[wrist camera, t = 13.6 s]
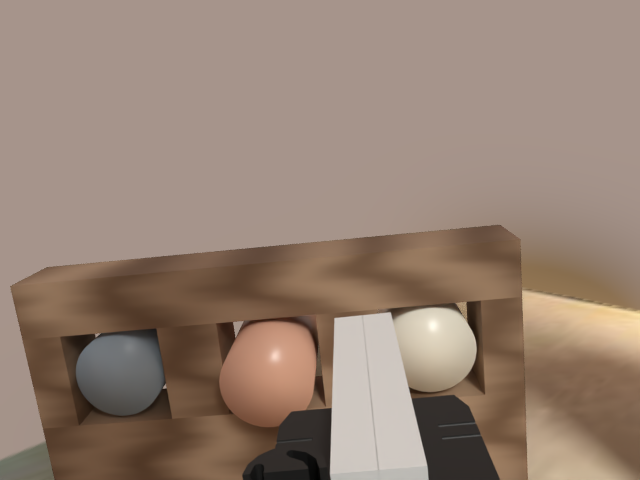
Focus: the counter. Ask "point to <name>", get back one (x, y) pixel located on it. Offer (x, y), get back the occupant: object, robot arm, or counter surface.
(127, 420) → the brown wooden rectangular frame
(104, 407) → the slate button
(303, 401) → the terracotta long rounded piece
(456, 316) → the ivory button
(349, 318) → the robot arm
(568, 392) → the counter surface
